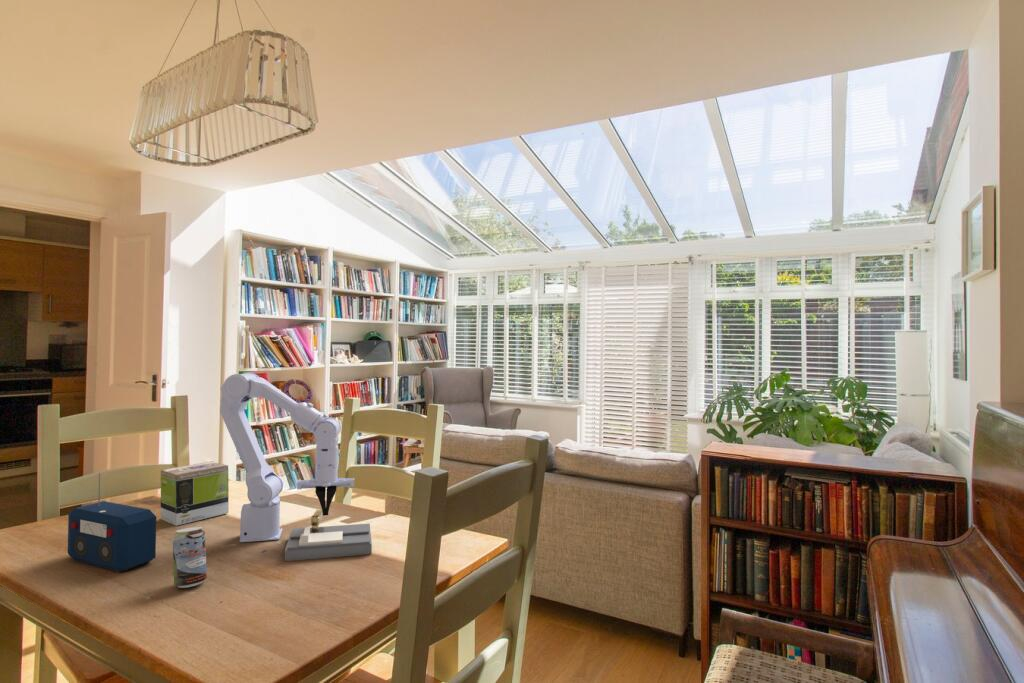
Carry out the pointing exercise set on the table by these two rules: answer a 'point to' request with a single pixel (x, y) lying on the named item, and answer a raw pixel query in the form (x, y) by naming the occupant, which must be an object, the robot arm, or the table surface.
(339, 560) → the table surface
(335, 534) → the cover
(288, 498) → the table surface
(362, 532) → the case
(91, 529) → the radio
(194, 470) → the tea box
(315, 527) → the key
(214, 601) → the table surface
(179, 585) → the beverage can
